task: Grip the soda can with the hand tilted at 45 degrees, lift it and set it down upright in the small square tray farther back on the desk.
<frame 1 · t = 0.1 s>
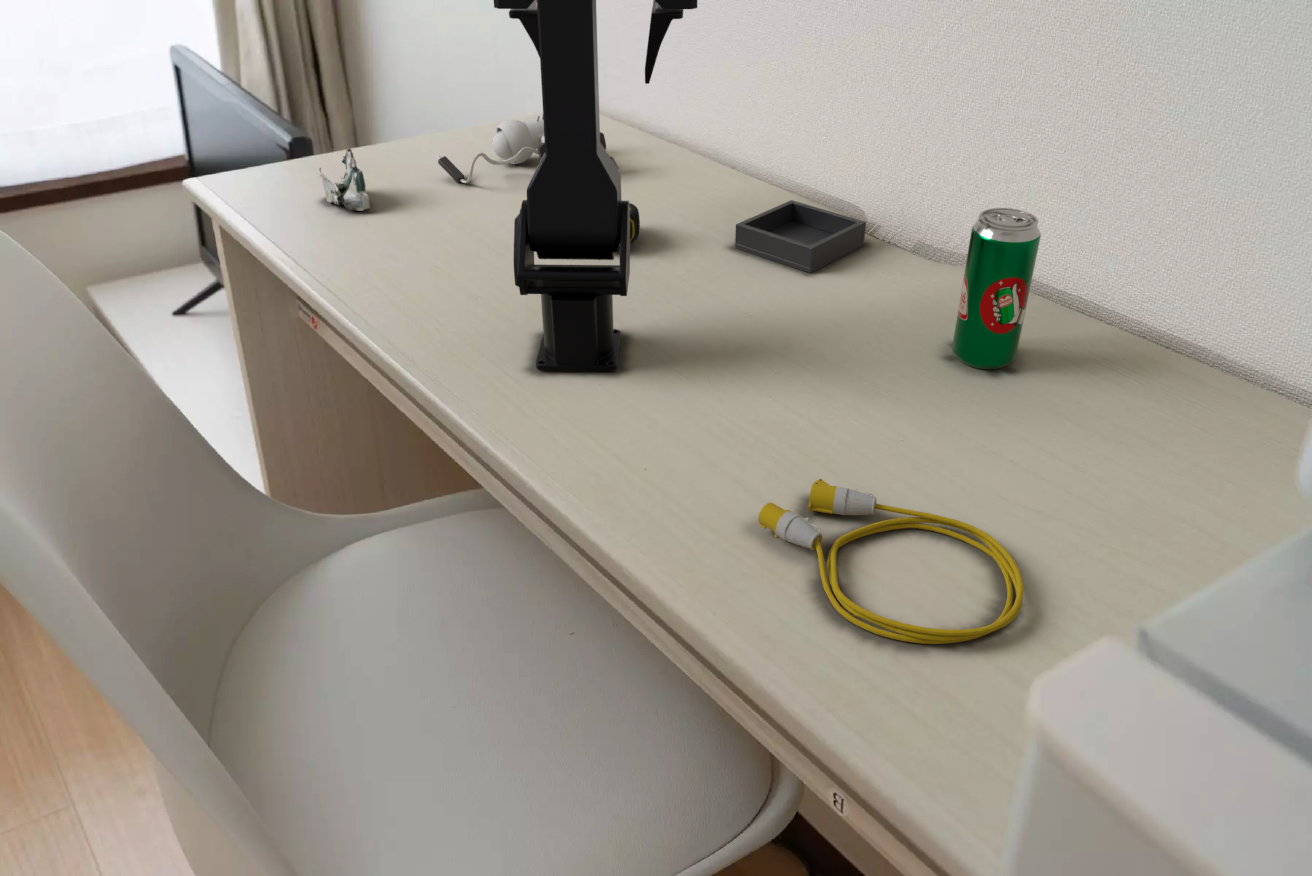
hand: (600, 82, 104), 15 cm above the table, tool pointing down, fingers open, 9 cm apart
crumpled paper: (345, 206, 117), on the table
clip-on lamp: (521, 173, 126), on the table
square tray: (799, 246, 107), on the table
soda can: (982, 359, 87), on the table
extension cord: (895, 566, 65), on the table
tape measure: (600, 243, 108), on the table
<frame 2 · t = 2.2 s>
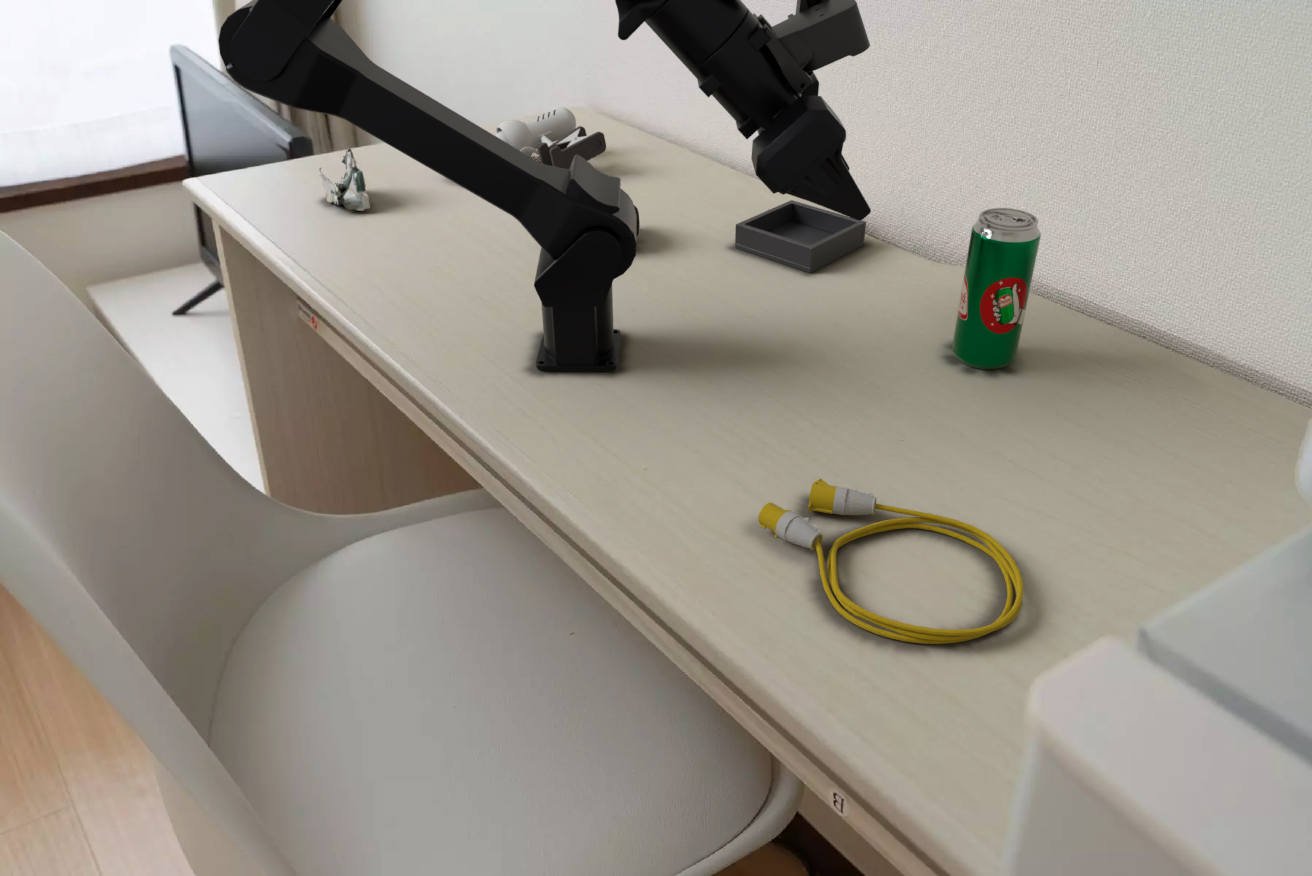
hand: (854, 193, 81), 13 cm above the table, tool tilted 45°, fingers open, 9 cm apart
nothing on the table moved.
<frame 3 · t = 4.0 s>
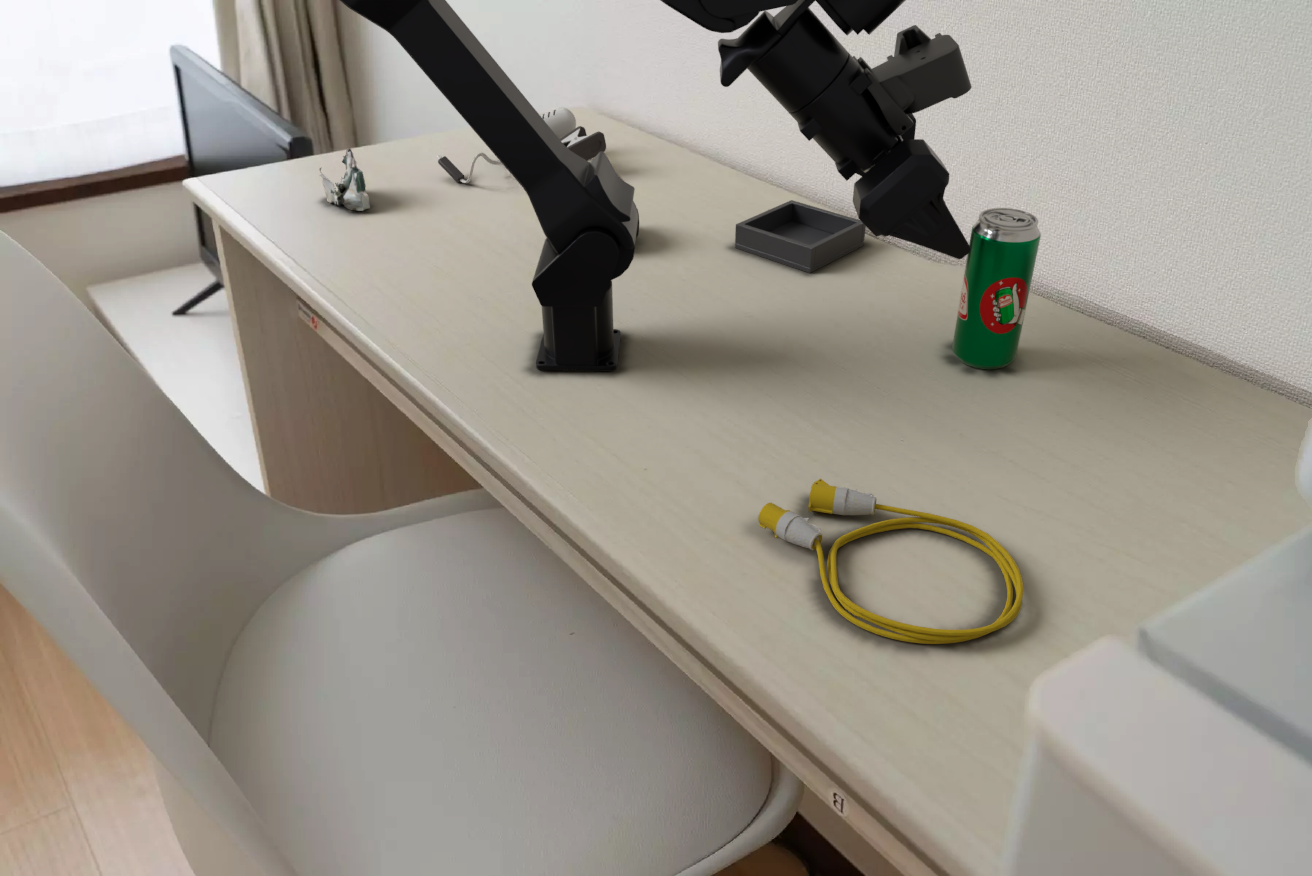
hand: (952, 230, 81), 11 cm above the table, tool tilted 45°, fingers open, 9 cm apart
nothing on the table moved.
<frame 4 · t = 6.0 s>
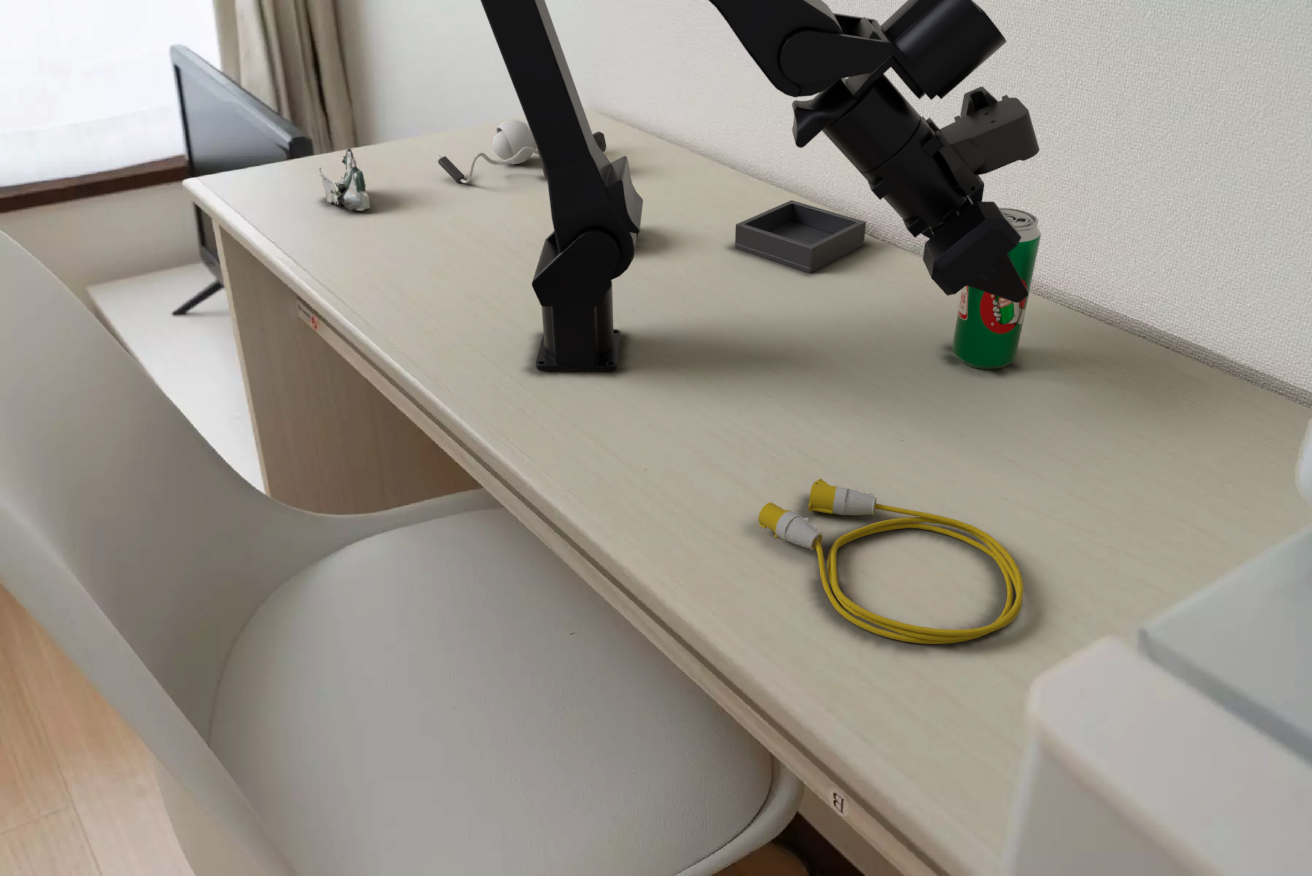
hand: (1014, 283, 83), 7 cm above the table, tool tilted 45°, fingers closed on soda can, 5 cm apart
soda can: (982, 359, 87), on the table, touching gripper
everything else where it was.
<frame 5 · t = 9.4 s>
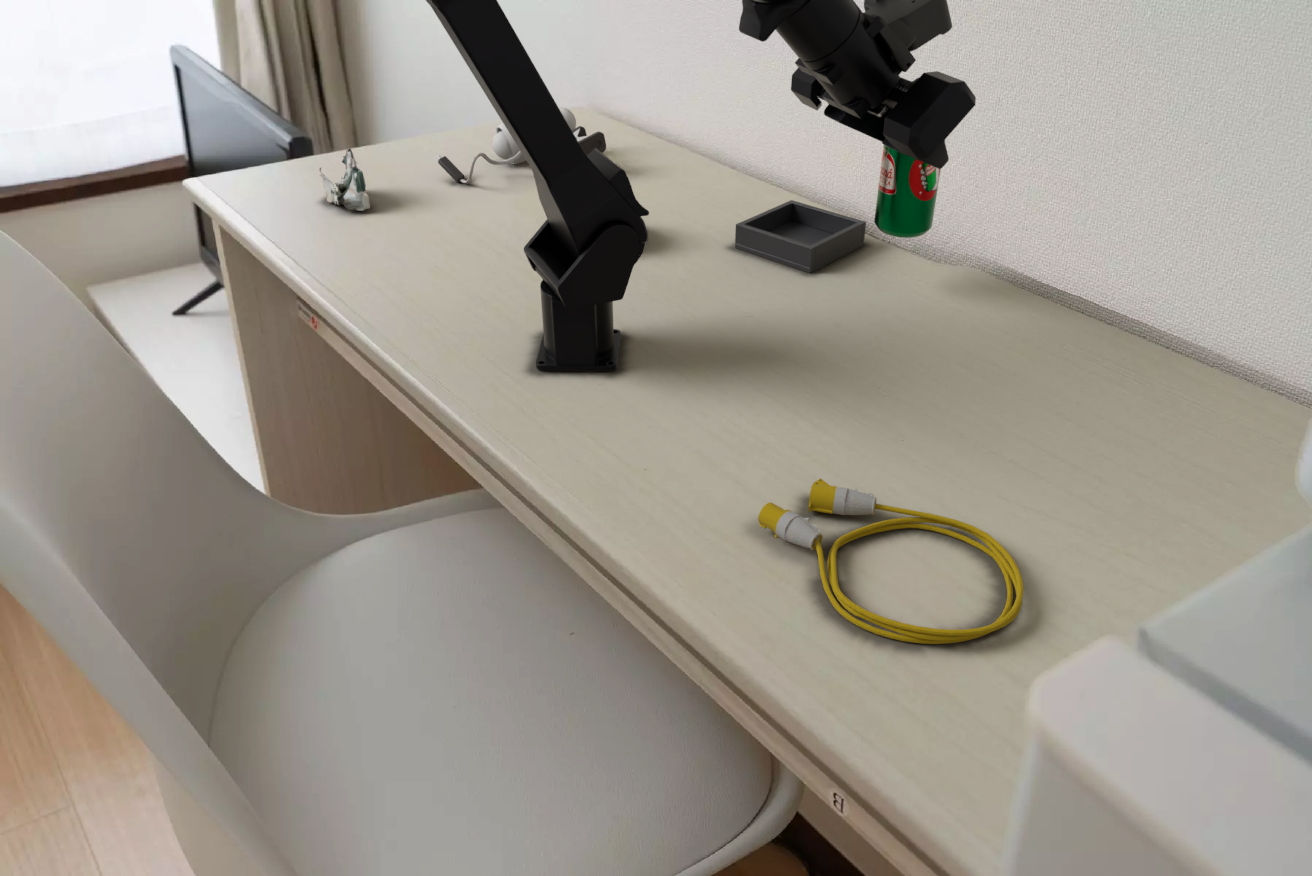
hand: (925, 155, 92), 12 cm above the table, tool tilted 45°, fingers closed on soda can, 5 cm apart
soda can: (901, 231, 95), point 5 cm above the table, touching gripper
everything else where it was.
when the fingers open (7 cm above the table, at t = 12.9 s): soda can stays where it is, resting on square tray.
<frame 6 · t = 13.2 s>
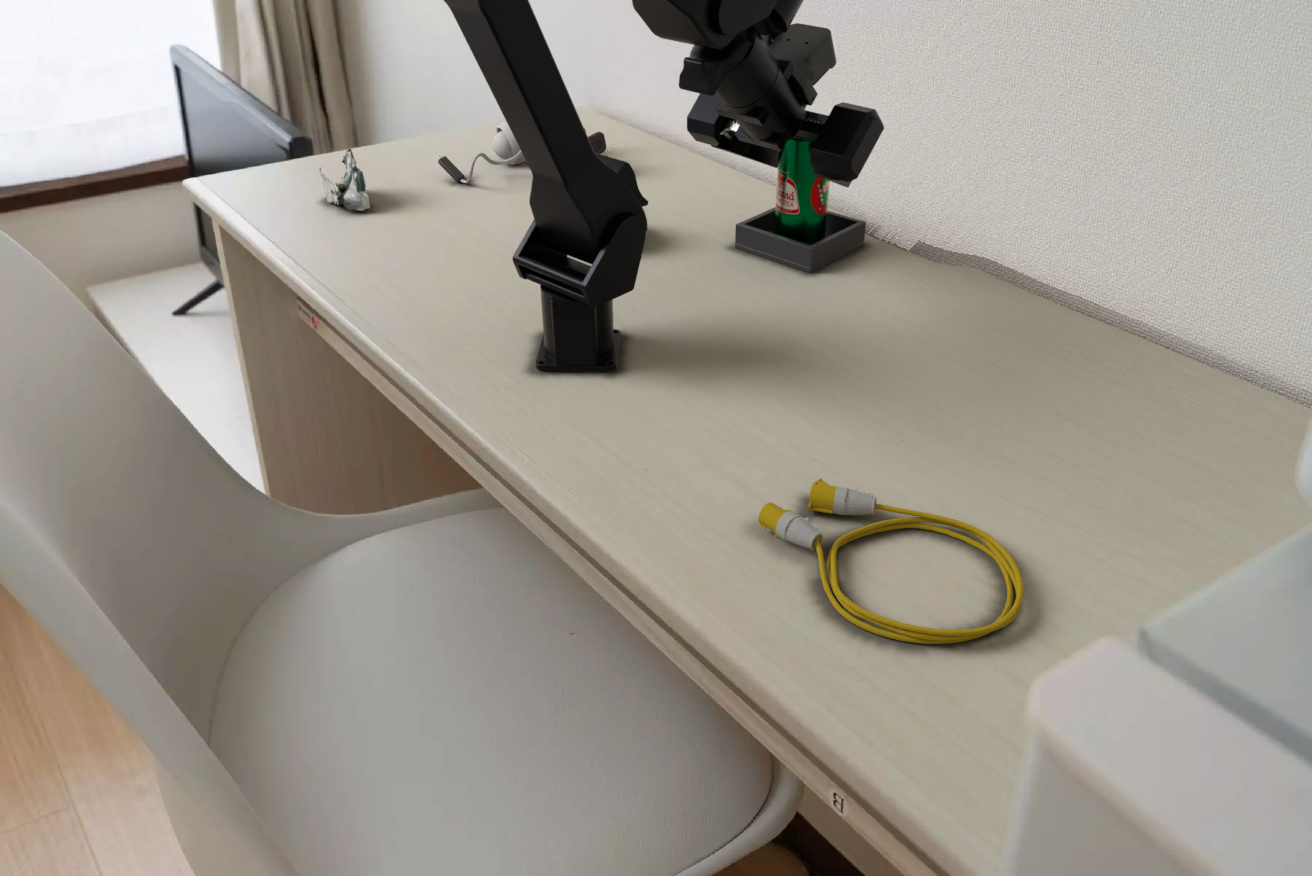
hand: (813, 172, 103), 7 cm above the table, tool tilted 45°, fingers open, 8 cm apart
soda can: (798, 244, 106), resting on square tray
everything else where it was.
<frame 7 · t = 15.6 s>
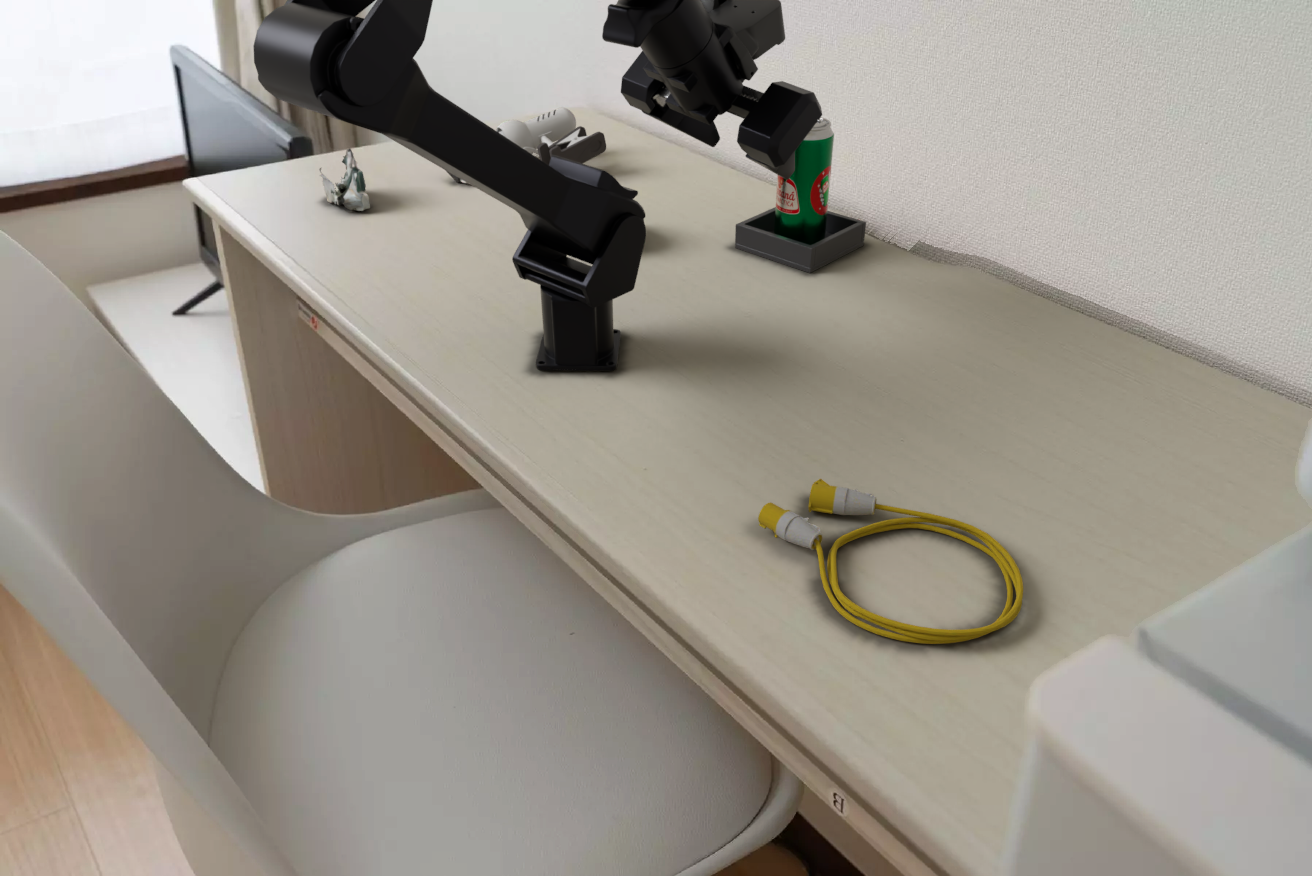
hand: (751, 158, 96), 11 cm above the table, tool tilted 40°, fingers open, 9 cm apart
nothing on the table moved.
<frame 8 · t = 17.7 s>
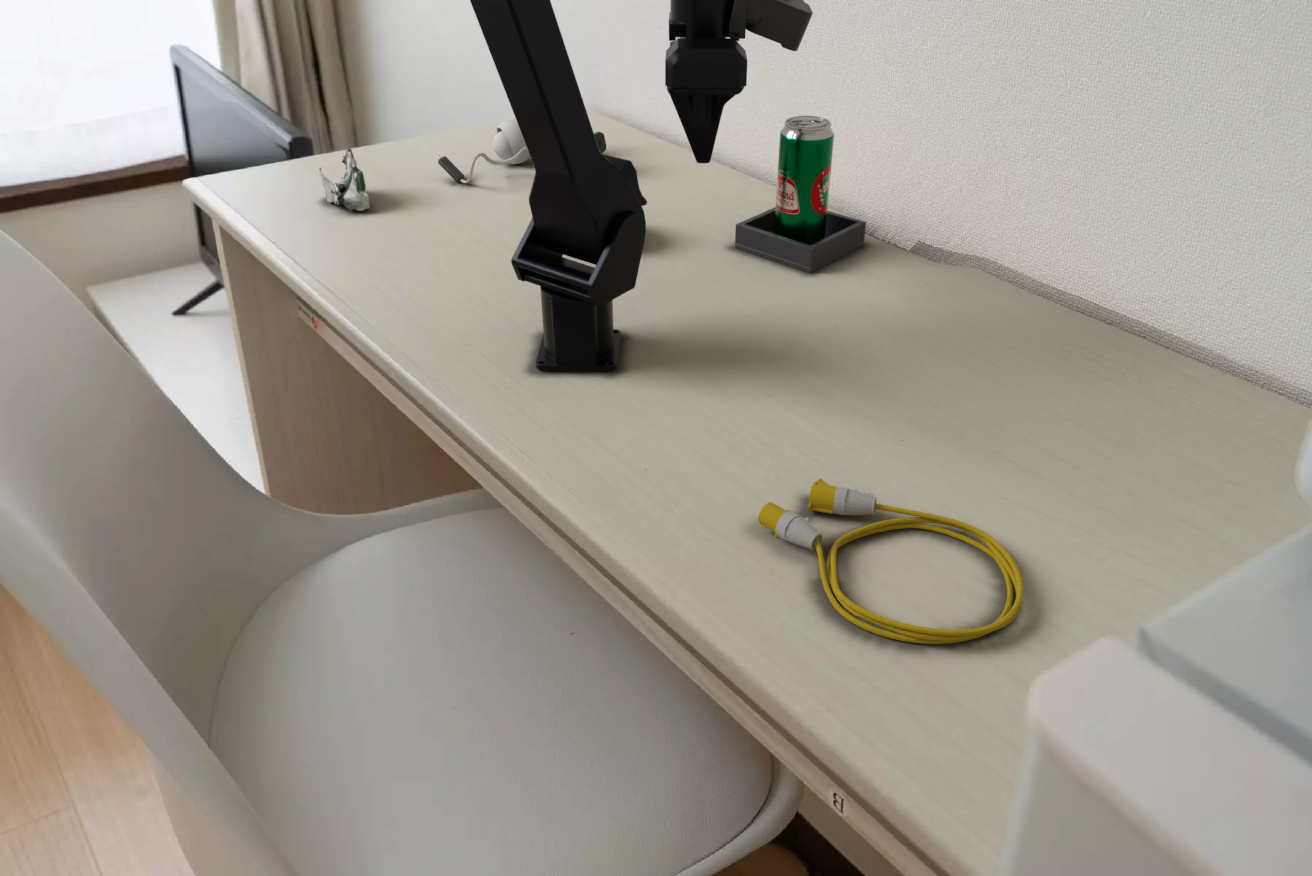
hand: (703, 145, 92), 13 cm above the table, tool pointing down, fingers open, 9 cm apart
nothing on the table moved.
at the end: soda can 0.1 cm off-centre in the square tray, point 0.3 cm above the square tray's base; soda can tilted 0°; the gripper is holding nothing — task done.
